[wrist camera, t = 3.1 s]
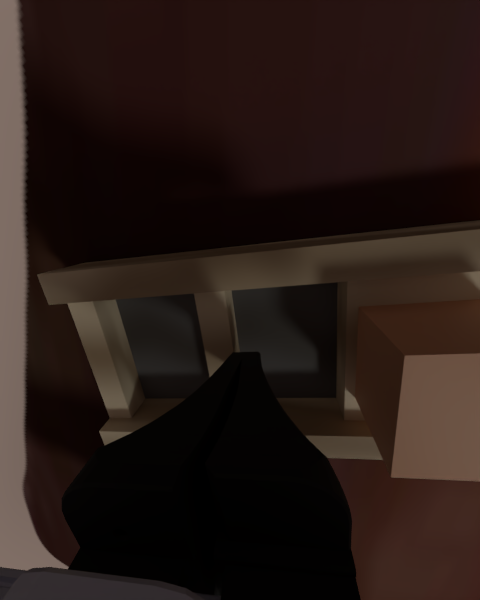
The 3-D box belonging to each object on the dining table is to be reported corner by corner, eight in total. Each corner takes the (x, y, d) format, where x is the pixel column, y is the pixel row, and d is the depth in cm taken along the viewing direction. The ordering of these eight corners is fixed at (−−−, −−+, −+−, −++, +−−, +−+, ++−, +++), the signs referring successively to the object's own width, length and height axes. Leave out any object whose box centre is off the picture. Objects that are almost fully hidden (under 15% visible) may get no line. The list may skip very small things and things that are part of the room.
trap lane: (653, 415, 13) (762, 472, 10) (133, 412, 17) (106, 450, 15) (776, 188, 9) (999, 175, 6) (84, 262, 14) (36, 274, 11)
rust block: (465, 397, 11) (558, 484, 8) (354, 397, 12) (390, 477, 9) (487, 298, 10) (617, 349, 6) (358, 306, 11) (404, 355, 7)
